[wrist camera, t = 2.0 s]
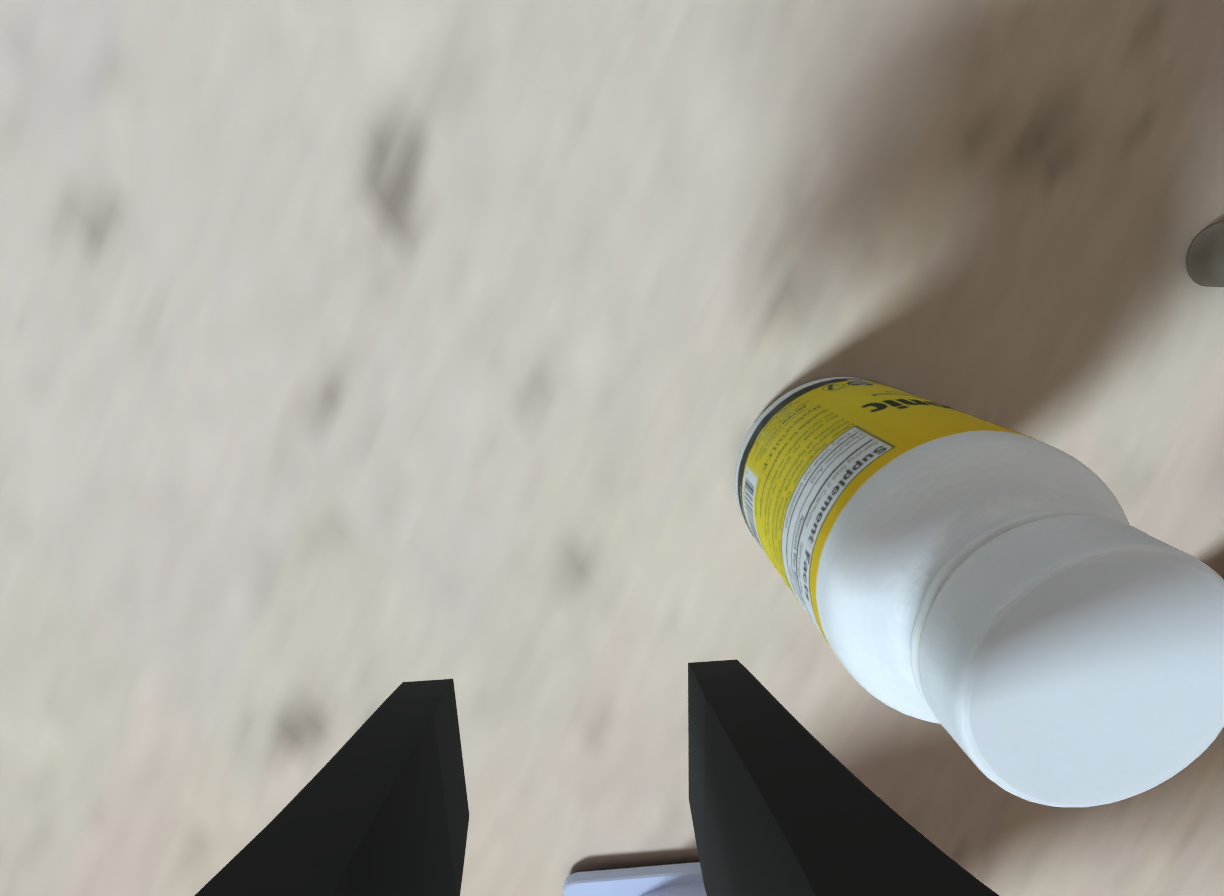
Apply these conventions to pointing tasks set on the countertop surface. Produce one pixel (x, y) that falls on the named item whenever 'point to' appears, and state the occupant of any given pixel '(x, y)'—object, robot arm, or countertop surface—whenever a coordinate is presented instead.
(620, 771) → the countertop surface
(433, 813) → the robot arm
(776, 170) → the countertop surface
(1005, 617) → the supplement bottle
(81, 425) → the countertop surface
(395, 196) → the countertop surface
